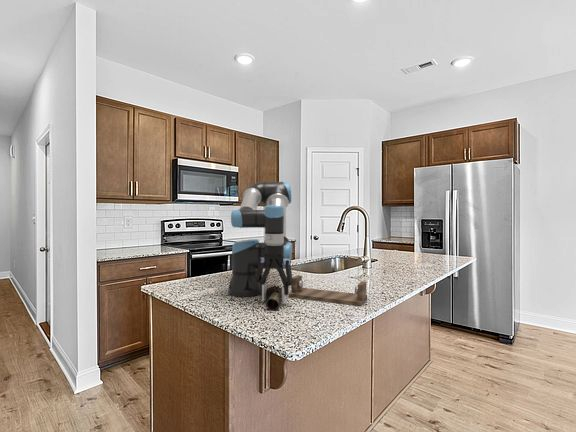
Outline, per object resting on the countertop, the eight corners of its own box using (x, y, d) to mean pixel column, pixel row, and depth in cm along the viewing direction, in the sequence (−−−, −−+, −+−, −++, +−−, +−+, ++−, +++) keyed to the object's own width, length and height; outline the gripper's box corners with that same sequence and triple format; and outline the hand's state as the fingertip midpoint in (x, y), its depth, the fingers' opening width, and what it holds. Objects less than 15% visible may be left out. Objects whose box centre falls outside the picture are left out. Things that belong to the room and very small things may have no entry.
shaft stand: (288, 297, 136) (288, 279, 136) (299, 290, 147) (299, 274, 147) (361, 306, 124) (361, 286, 124) (367, 298, 135) (367, 280, 134)
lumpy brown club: (279, 310, 118) (278, 295, 118) (260, 310, 119) (260, 295, 119) (285, 297, 136) (285, 283, 136) (269, 296, 137) (269, 283, 136)
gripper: (246, 244, 128) (246, 300, 129) (294, 246, 120) (294, 307, 120) (256, 242, 135) (256, 296, 136) (302, 244, 127) (302, 302, 127)
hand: (274, 301), depth 128 cm, fingers closed on lumpy brown club, 8 cm apart
